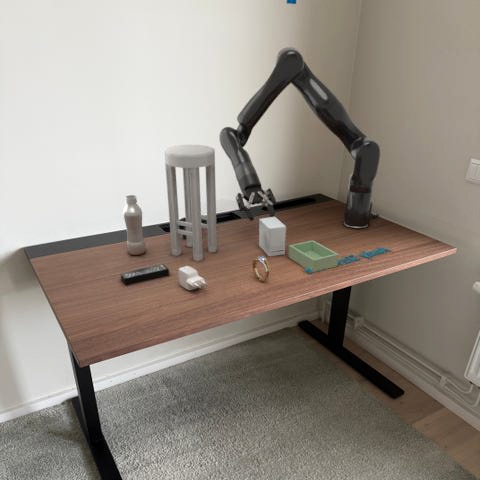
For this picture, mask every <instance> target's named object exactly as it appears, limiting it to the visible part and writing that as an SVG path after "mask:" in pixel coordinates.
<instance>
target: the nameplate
mask: <svg viewBox="0 0 480 480" xmlns="http://www.w3.org/2000/svg"><path fill="white" fill-rule="evenodd" d="M391 251H392V250H391V249H389V248H386V247H381V246H379V247H378V249H374V250H373V251H365V250H363V251H362V253H363V254H361V253H359V254H358V256H359V257H358V258H357V257H356V255H355V254H349V255H347V256H345V257H344V258H340V259H338V266H342V265H343V264H345V265H346V264H350V263H351V262H352V263H354V262H355V261H356V262H357V261H360V260H361V258H365V259H369V260H370V259H371V258H372V257H375V256H376V255H377V256H379V255H382V254H385V253H386V252H388V253H390V252H391ZM329 269H330V268H328V269H327V270H329ZM324 270H325V269H324V268H323V270H322V271H324ZM304 272H306V273H307V274H308V275H310V274H312V273H314V272H313V270H311V269H309V268H305V269H304ZM316 272H320V271H319V269H318V270H317V271H316Z"/></svg>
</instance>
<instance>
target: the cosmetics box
mask: <svg viewBox="0 0 480 480" xmlns="http://www.w3.org/2000/svg"><path fill="white" fill-rule="evenodd" d="M258 222H259V223H258V226H259V227H258V246H259V248H261V250H262V251H263V252H264V253H265V254H266V255H267V256H268V257H275V256H281V255H285V254H286V238H287V236H286V235H287V226H286V225H285V224H284V222H282V221H280V220H279V219H278V218H277V216H273V217H270V216H269V217H261V218H259V219H258Z"/></svg>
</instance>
